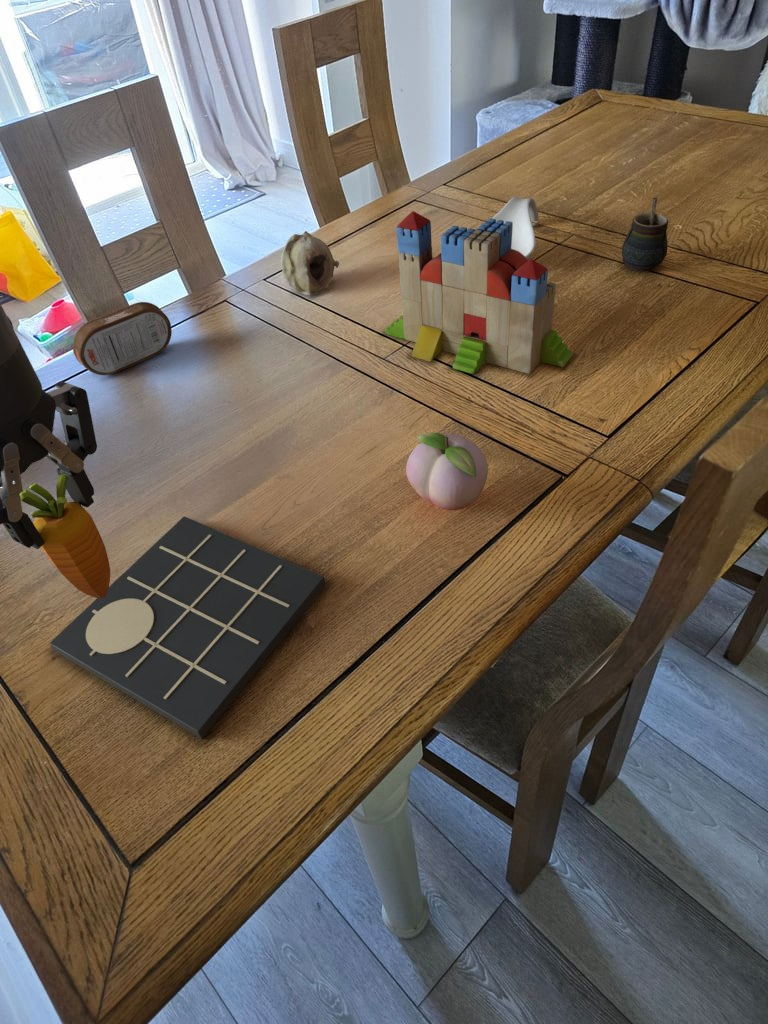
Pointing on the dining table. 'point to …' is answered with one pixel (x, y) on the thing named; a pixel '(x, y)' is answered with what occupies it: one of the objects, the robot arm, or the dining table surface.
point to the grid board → (190, 623)
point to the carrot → (70, 539)
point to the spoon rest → (521, 223)
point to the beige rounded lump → (307, 264)
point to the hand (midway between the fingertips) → (59, 522)
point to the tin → (122, 338)
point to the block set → (475, 298)
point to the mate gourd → (646, 241)
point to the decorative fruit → (447, 470)
